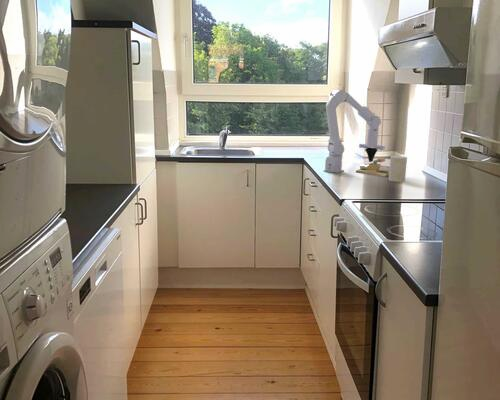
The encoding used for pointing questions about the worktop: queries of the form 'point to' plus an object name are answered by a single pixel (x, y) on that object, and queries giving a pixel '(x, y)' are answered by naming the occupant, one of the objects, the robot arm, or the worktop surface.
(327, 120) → the robot arm
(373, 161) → the valve lever
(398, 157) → the cup
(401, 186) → the worktop surface
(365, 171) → the mount board
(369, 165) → the valve pipe
